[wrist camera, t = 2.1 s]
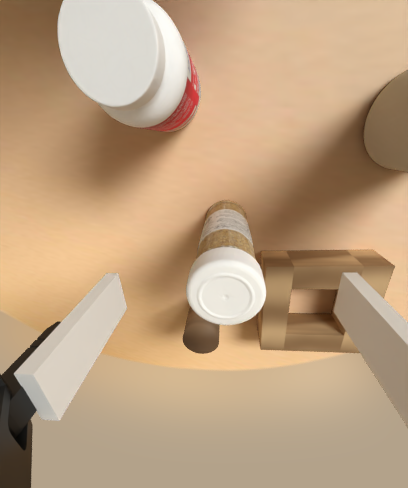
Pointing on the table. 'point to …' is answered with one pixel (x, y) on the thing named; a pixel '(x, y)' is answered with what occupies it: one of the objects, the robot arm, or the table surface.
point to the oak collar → (312, 277)
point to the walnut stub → (200, 334)
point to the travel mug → (389, 126)
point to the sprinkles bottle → (226, 269)
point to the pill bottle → (130, 61)
